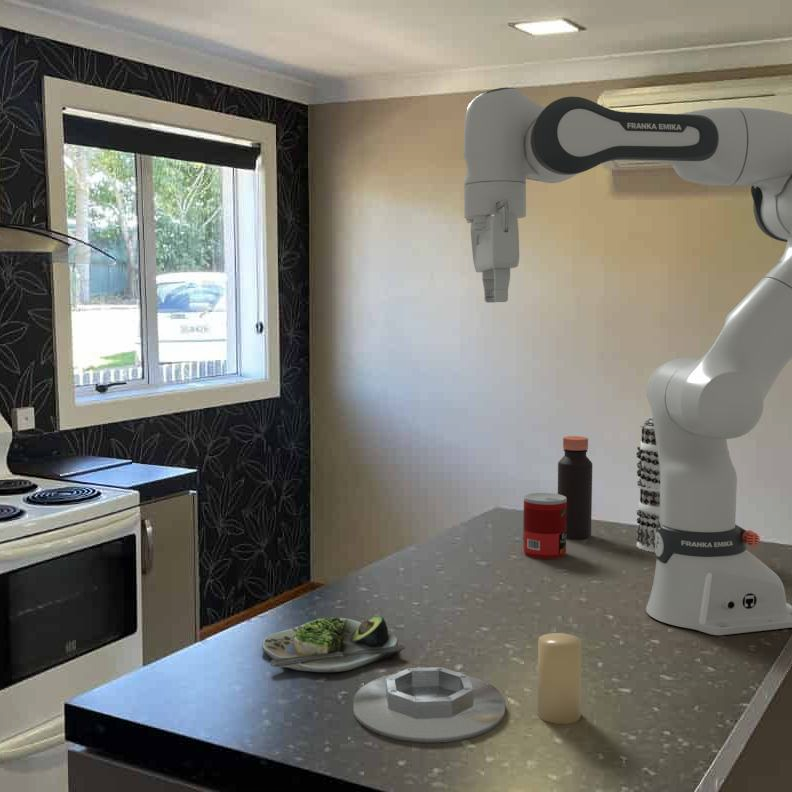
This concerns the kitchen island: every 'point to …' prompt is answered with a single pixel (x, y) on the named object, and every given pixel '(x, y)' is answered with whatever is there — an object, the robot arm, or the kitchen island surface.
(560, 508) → the canned food
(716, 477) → the robot arm
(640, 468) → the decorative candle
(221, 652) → the kitchen island surface
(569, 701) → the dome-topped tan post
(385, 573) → the kitchen island surface
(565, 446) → the bottle
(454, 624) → the kitchen island surface
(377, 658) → the salad plate
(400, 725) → the collar
